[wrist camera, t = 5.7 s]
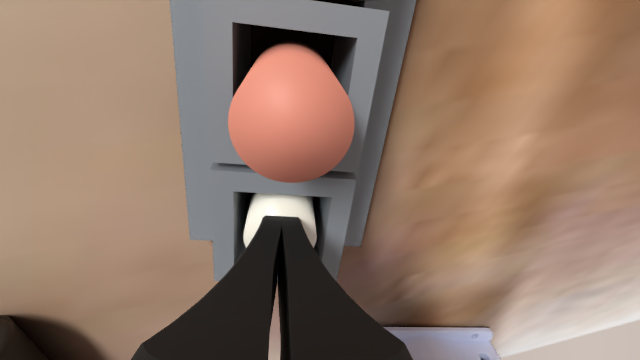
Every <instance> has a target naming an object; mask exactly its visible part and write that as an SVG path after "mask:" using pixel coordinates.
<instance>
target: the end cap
mask: <svg viewBox="0 0 640 360" xmlns="http://www.w3.org/2000/svg"><path fill="white" fill-rule="evenodd" d="M0 360H49V359H48V358H47V357H46V356H45V355H44V354H43V353H42V352H41V351H40V350H39V349H38V348H37V346H36V345H35V344H34V343H33V342H32V341H31V340H30V339H29V338H28V337H27V336H26V335H25V334H24V333H23V331H22V330H21V329H20V328H19V327H18V326H17V325H16V324H15V323H14V322H13V321H12V320H11V319H10V318H9V317H8V316H1V315H0Z"/></svg>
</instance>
